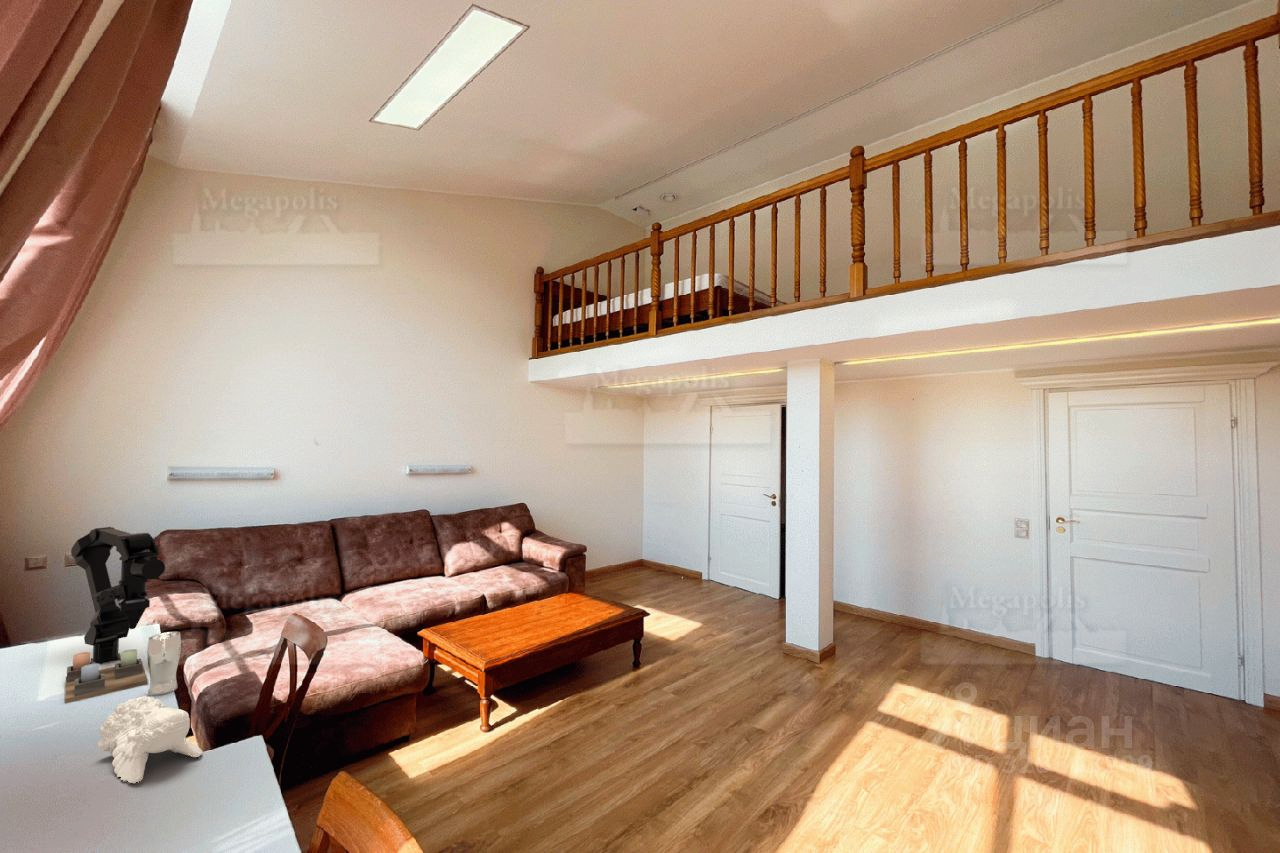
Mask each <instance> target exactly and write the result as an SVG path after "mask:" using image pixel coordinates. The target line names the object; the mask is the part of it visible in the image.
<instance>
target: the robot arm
mask: <svg viewBox="0 0 1280 853" xmlns="http://www.w3.org/2000/svg"><path fill="white" fill-rule="evenodd" d="M114 547H115V551H116V552H118V553H119V555H120V557H119V561H121V568H120V569H121V571H120V573H121V576H120V580H118V584H117V585H114V586H112V583H111V579H110V575H109V572H108V567H107V561H108V560H109V558H110V556H111V550H113V548H114ZM159 554H160V553H159V547H158V546H157V544H156V542H155V540H154V537H153V536H151V534H150V533H149V532H140V533H139V532H136V533H130V532H127V531H123V530H120V529H116V528H115V527H112V526H107V527H106V526H105V527H97V528H94V529H91V530H90V531H89V533H88V534H85V535H84V536H82V537H80V538H79V539H77V540H76V542H74V544H73V545H72V547H71V550H70V555H71V556H72V558H73V559H74V562H75V564H76V566H79V567H80V568H82V569H83V570H84V572H85V574H86V575H85V576H86V580H87V583H88V588H89V593H90V596H91V600H92V605H93V608H94V615H93V617H92V618H91V621H90V623H89V624H90V628H89V629H88V630H87V631H86V633H85V635H84V637H83V640H84V644H85V645H88V646H93V647H92V658H91V657H90V662H94V661H95V663H98V664H99V665H103V664H106V663H111V662H117V661H121V652H119V646H120V643H119V642H120V639H123V638H128V635H129V631H130V630H135V629H136V628H137V626H138V623H139V622H140V620H141V618H142V617H143V614H144V612H146V609H148V608H150V607H151V606H150V603H151V601H150V598H148V597H147V596H148V592H147V582H148V580H154V579H157V578H159V577H161V576H162V575H163V574H164V572H165V570H166V565H165V563H164V562H163V560H160V559H159V558H158V556H159ZM116 600H117V602H118V605H117V603H116ZM120 601H121V602H120Z"/></svg>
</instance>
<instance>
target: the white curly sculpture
mask: <svg viewBox="0 0 1280 853" xmlns="http://www.w3.org/2000/svg"><path fill="white" fill-rule="evenodd" d="M190 723H191V718H190V715H189V713H188V711H185V710H183V709H180V708H176V709H175V708H173V707H166V705H165V704H164V703H162V700H161V699H159V698H156V699H155V697H149V696H147V695H144V696H139V697H137V698H130V699H128V700H127V701H125V702H123V703H122V702H121V703H118V704H117V705H116V706H115V709H114V710H112V713H111V714H110V715H109V716H107V717H106V718H105V721H104V722H103V723H102V725H101V727H100V728H99V735H100V736H101V738H100V740H99V741H98V742H97V746H98V748H101V752H109V753H110V755H112V757H113V758H114V759H113V760H112V763H111V764H112V766H113V767H114V769H113V770H114V774H116V777H117V778H118V777H121V778H120V781H121V780H123V781H122V782H125V781H124V780H127V781H128V782H131V783H133V784H137V783H136V782H138V783H140V782H142V781H143V778H144V773H145V770H146V764H147V761H148V759H149V758H148V757H149V753H150V754H157V753H162V752H165V751H170V752H173V753H175V754H176V753H179V754H182V755H185V756H189V754H190V755H192V756H189V757H192V758H194V757H193V755H196V754H200V753H202V754H203V751H202V749H201V748H200V747H199V746H198V745H196V744H195V743H193V742H192V741H191V740H188V739H187V738H186V737H187V736H188V733H189V732H190V731H189V729H190V727H191V726H190V725H191V724H190ZM185 738H186V742H185ZM186 744H187V748H186ZM187 749H188V751H187ZM188 753H189V754H188ZM141 780H142V781H141ZM127 781H126V782H127ZM139 781H140V782H139ZM128 782H127V783H128Z"/></svg>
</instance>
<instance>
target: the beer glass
mask: <svg viewBox="0 0 1280 853" xmlns="http://www.w3.org/2000/svg"><path fill="white" fill-rule="evenodd" d="M181 645H182V640H181V632H180V631H166V632H162V633H156V634H154V635H151V636H149V637H148V644H147V650H146V656H147V657H146V661H147V667H148V672H149V677H150V682H149V687H148V691H147V695H148V696H151V697H156V696H157V697H159V696H163V695H167V694H170V693H172V692H174V691H176V690H177V689H178V682H177V670H178V665H179V661H180V658H181V652H182V651H181V650H182V646H181ZM171 680H172V682H171ZM173 689H174V691H173Z"/></svg>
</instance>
